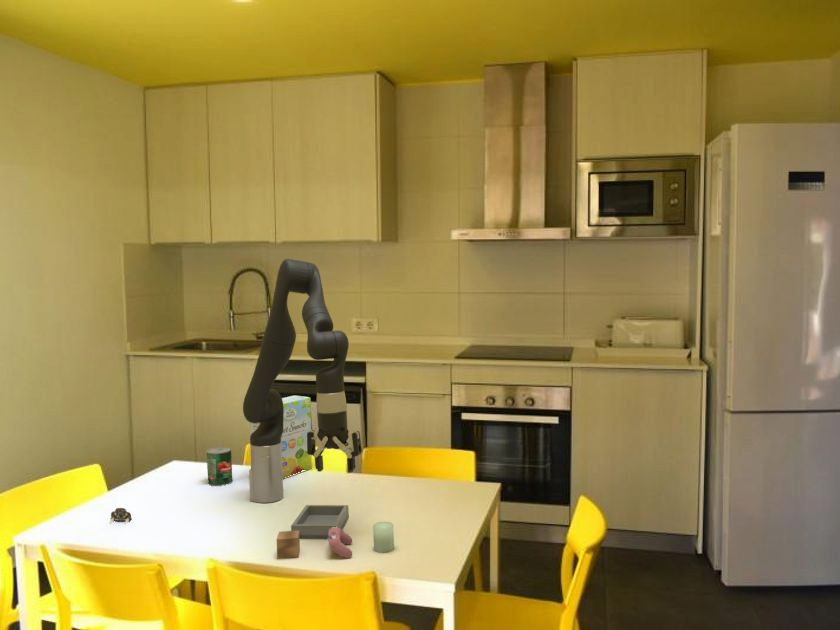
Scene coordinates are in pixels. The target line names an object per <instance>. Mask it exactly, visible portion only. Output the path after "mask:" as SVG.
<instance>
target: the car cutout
mask: <svg viewBox="0 0 840 630" xmlns="http://www.w3.org/2000/svg"><path fill="white" fill-rule="evenodd" d="M131 520H132V521H133V518H132V514H131V512H129V511H127V509H126V508H124V507H117V508H115V510H114V511H112V512H111V513H110V521H109V523H110V524H112V522H113V523H114V521H115V523H116V522H117V523H125V525H127V524H129V523H131V522H132V521H131ZM128 522H129V523H128ZM126 523H127V524H126Z"/></svg>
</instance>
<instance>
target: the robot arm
mask: <svg viewBox="0 0 840 630" xmlns="http://www.w3.org/2000/svg"><path fill="white" fill-rule="evenodd" d="M289 293H295V294H306V295H307V296H308V298H307V300H306V301H305V302H304V304H303V306H302V310H301V317H302V320H303V323H304V326H305V328H306V332H307V343H306V351H307V355H308V356H309V357H310V358H311V359H313V360H317V361H319V360H321V361H323V360H329V359H332V360H333V361H332V362H331V364H330V365H329V366H327V367H324V368H323V367H322V368H320V369H318V370H317V371H316V373H315V384H316V385H315V386H316V414H317V415H316V417H317V427H318V431H316V430H314V429H311V431H310V432H308V433H307V453H308V455H311V456H313V457H314V465H315V470H316V471H317V472H323V470H324V458H323V455H322V454H323V453H324V452H325V449H327V450H329V449H330V450H331V449H335V450H339V449H340V451H341V452H343V453H344V454H345V455H346V457H347V458H346V461H347V472H348V473H353V472H354V470H355V469H356V457H358V456H359V455H361V454H362V452H363V449H362V439H361V433H360V431H359V430H355V431H349V428H348V415H347V414H348V411H347V407H348V405H347V399H346V393H345V382H344V381H345V379H344V374H345V365H346V360H347V356H348V351H349V344H350V343H349V338H348V335H346V333H345V332H344V331H342V330H334V322H333V319H332V318H331V315H330V312H329V310H328V307H327V305H326V301H325V296H324V289H323V284H322V279H321V275H320V271H319V268H318V266H317V264H315V263H312V262H309V261H305V260H304V261H303V260H297V259H292V258H291V259H289V258H285V259H284V260H282V262H281V263H280V265H279V268H278V271H277V276H276V280H275V287H274V292H273V299H272V302H271V303H272V304H271V308H270V312H269V315H268V316H269V317H268V320H267V324H266V326H265V330H264V333H263V337H262V342H261V344H260V349H259V354H258V358H257V360H256V364H255V368H254V371H253V374H252V377H251V381H250V382H249V385H248V388H247V390H246V394H245V396H244V399H243V404H242V413H243V416H244V419H245V420H246V421H247V422H248V423H249V424H250V423H260V425H259V426H258V428H257V429H256V430H255V431H254V432H253V433H252V434H251V436H249V444H250V469H249V471H248V472H249V473H248V474H249V475H248V476H249V477H248V479H249V496H250V501H249V502H254V503H262V504H265V503H266V504H267V503H269V504H270V503H274V502H279V501H280V500H282V499H283V498H284V479H283V474H282V449H281V436H282V433H283V415H284V409H283V401H282V398H283V397H282V395H281V394H280V392H278V391H277V390H276V389H272V386H273V384H274V383H275V380H276V379H277V377H278V376H279V374H280V373H281V372H282V371H283V369H284V368H285V367H286V366H287V364H288V363H289V361H290V359H291V357H292V355H293V351H294V347H295V343H296V339H297V332H296V329H295V325H294V323H293V319H292V317H291V315H290V313H289V307H288V298H289ZM349 438H350V441H352V445H351V443H350V442H349V441H348V440H349ZM317 439H319V441H320V443H319V444H318V446H317V447H316V440H317Z"/></svg>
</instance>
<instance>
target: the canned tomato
mask: <svg viewBox="0 0 840 630" xmlns="http://www.w3.org/2000/svg"><path fill="white" fill-rule="evenodd" d="M206 465H207V466H206V468H207V485H208V484H209V485H208V486H210V485H211V486H210V487H223V486H222V485H224V486H227V485H226V484H228V485H230V484H232V483H233V482H232V481H233V463H232V448H231V447H229V446H217V447H211V448H208V449H207V450H206ZM231 482H232V483H231ZM229 483H230V484H229Z"/></svg>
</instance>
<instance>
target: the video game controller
mask: <svg viewBox="0 0 840 630" xmlns="http://www.w3.org/2000/svg"><path fill="white" fill-rule="evenodd" d="M328 535H329V538H328V539H327V542H328V545H329V547H330V550H331V551H332V552H334V553H335V554H336V555H337V556H340V557H342V558H343V559H345V558H346V559H351V558H352V556H353V551H352V550H351V548H349V547H347V545H348V546H349V545H352V544H353V538H352V537H351V536H350V535H349V534H348V533H346V532H344V531H343V529H342V530H341V529H340V528H338V527H337V526H336V527H332V528H331V529H329V531H328Z"/></svg>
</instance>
